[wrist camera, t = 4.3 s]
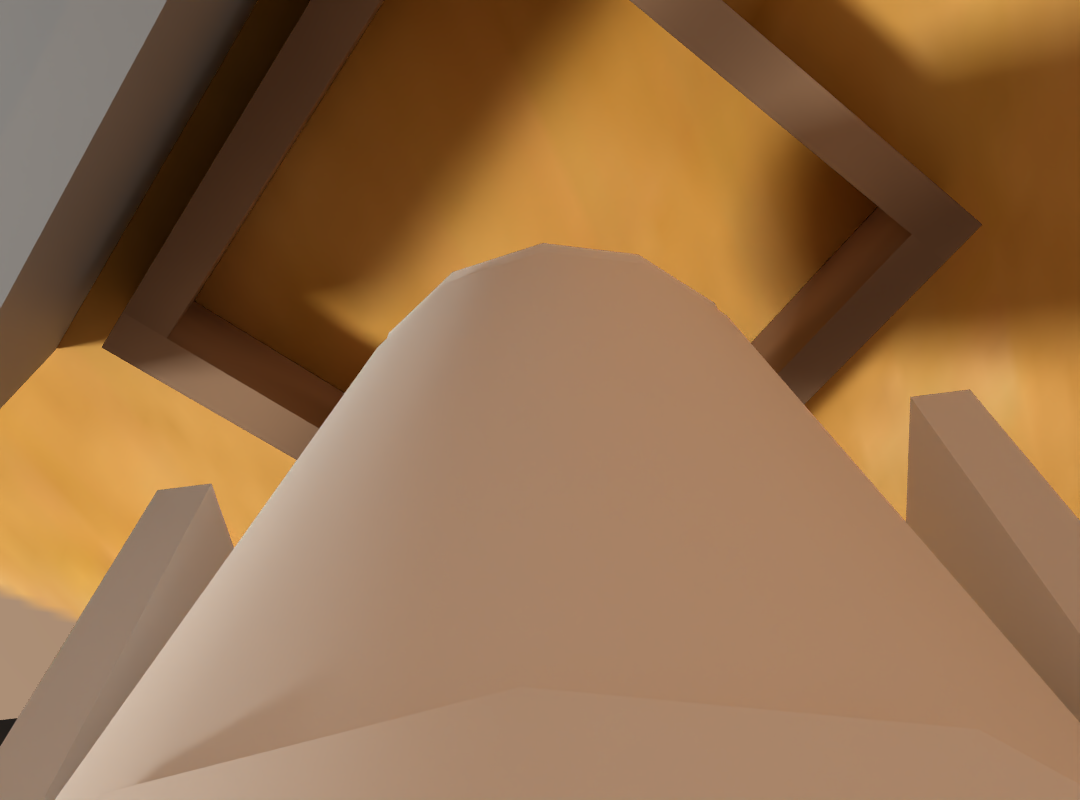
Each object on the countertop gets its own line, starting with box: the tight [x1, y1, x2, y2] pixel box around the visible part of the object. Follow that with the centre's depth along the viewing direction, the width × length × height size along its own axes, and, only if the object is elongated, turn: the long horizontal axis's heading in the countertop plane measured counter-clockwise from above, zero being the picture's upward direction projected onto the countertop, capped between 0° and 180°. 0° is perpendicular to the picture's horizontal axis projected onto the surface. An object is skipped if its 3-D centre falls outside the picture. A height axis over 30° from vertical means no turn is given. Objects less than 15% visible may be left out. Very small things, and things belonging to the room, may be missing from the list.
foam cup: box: [55, 243, 1080, 800], centre depth 10 cm, size 10×9×13 cm
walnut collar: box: [102, 0, 982, 460], centre depth 22 cm, size 13×13×2 cm
